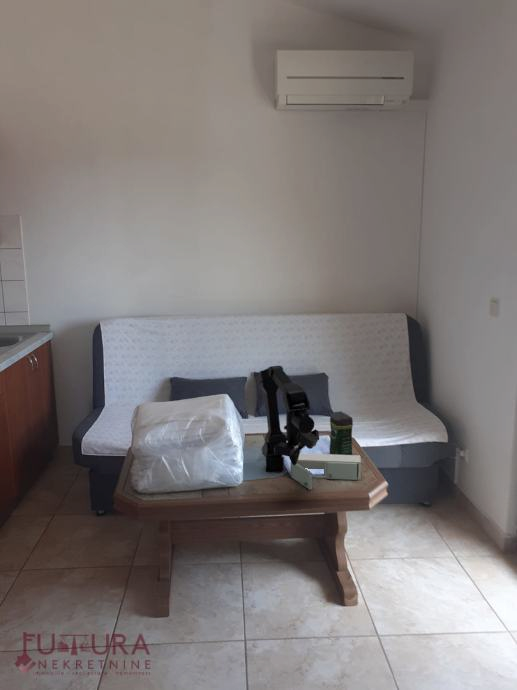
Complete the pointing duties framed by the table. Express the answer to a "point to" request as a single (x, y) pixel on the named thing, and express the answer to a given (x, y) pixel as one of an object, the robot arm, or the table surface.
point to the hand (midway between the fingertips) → (294, 464)
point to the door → (301, 475)
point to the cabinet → (332, 465)
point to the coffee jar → (341, 434)
